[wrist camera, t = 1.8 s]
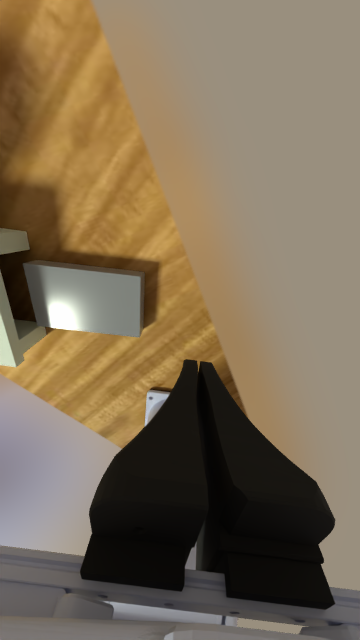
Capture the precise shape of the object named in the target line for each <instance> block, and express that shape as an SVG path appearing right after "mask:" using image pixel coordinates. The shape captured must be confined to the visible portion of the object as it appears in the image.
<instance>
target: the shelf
mask: <svg viewBox="0 0 360 640" xmlns="http://www.w3.org/2000/svg"><path fill="white" fill-rule="evenodd" d="M24 250H30V247H29V242H28V237H27V232H26V231H20V230H12V229H5V228H0V255H1V254H7V253H12V252H18V251H24ZM45 336H46V330H45V327H42V326H37V322H32V321H25V320H17V319H13V316H12V312H11V308H10V305H9V301H8V297H7V293H6V290H5V286H4V282H3V278H2V275H1V271H0V365H4V366H12V367H17V366H18V365H19V364H21V363H22V362H23V361H24V357H23V353H25V352H26V351H27V350H28V349H30V348H31V347H32V346H33V345H35V344H36V343H37V342H39V341H40V340H41V339H42V338H44V337H45Z"/></svg>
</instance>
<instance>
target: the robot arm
mask: <svg viewBox="0 0 360 640" xmlns="http://www.w3.org/2000/svg"><path fill="white" fill-rule="evenodd" d="M89 517H90V523H91V528H92V535H91V538H90V541H89V544H88V547H87V551H86V554H85V556H79V555H71V554H63V553H55V552H48V551H40V550H31V549H23V548H16V547H8V546H0V640H360V591H357V590H349V589H340V588H334V587H329V585H328V583H327V580H326V577H325V575H324V572H323V569H322V567H321V564H323V563H324V558H323V556H322V553H321V551H320V548H319V545H318V544H319V543H320V542H321V541H322V540H323V539H325V538H326V537H327V536H328V535H329V534H330V533H331V531H332V530H333V528H334V525H335V518H334V517H333V514H332V512H331V510H330V508H329V506H328V504H327V501H326V499H325V497H324V495H323V493H322V492H321V490H320V488H319V486H318V485H317V482H316V481H314V480H313V479H312V478H311V477H310V476H308V475H307V474H306V473H305V472H304V471H302V470H301V469H300V468H299V467H297V466H296V465H295V464H293V462H291V461H290V460H289V459H288V458H287V457H286V456H285V455H283V454H282V453H281V452H280V451H279V450H278V449H277V448H276V447H275V446H274V445H273V444H272V443H271V442H270V441H268V439H266V438H265V436H264V435H263V434H262V433H261V432H260V431H259V430H258V429H257V428H256V427H255V426H254V425H253V424H252V423H251V421H250V420H249V419H248V418H247V417H246V415H245V414H244V413H243V412H242V410H241V409H240V408H239V407H238V405H237V404H236V402H235V401H234V400H233V398H232V397H231V395H230V394H229V392H228V391H227V389H226V387H225V386H224V384H223V383H222V381H221V379H220V377H219V376H218V374H217V372H216V370H215V368H214V366H213V364H212V363H210V362H202V361H200V366H199V371H198V365H197V361H195V360H187V359H186V360H184V363H183V368H182V371H181V373H180V376H179V378H178V380H177V382H176V384H175V386H174V388H173V389H172V391H171V392H164V391H156V390H149V391H148V393H147V402H146V417H145V427H144V428H143V429H142V430H141V431H140V432H139V434H138V435H137V436H136V437H135V438H134V439H133V440H132V441H131V442H129V443H128V444H127V445H126V446H125V447H124V448H123V449H122V450H121V451H120V452H119V453H118V454H116V456H115V457H114V459H113V460H112V462H111V463H110V465H109V467H108V468H107V470H106V472H105V474H104V475H103V477H102V479H101V481H100V483H99V486H98V488H97V490H96V493H95V496H94V498H93V501H92V504H91V507H90V511H89ZM238 618H245V619H253V620H262V621H270V622H277V623H286V624H294V625H302V626H309V627H302V629H301V631H300V633H299V634H291V633H283V632H275V631H266V630H259V629H251V628H243V627H237V620H238Z"/></svg>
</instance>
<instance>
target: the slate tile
mask: <svg viewBox="0 0 360 640" xmlns="http://www.w3.org/2000/svg"><path fill="white" fill-rule="evenodd" d="M23 267H24V271H25V276H26V280H27V284H28V288H29V292H30V297H31V301H32V305H33V309H34V313H35V318H36V322H37V326H42V327H51V328H60V329H69V330H78V331H87V332H96V333H105V334H113V335H122V336H131V337H140V335H141V333H142V331H143V324H144V282H145V272H141V271H132V270H123V269H114V268H106V267H97V266H88V265H79V264H70V263H61V262H53V261H44V260H34V261H30V262H26V263H23Z"/></svg>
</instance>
